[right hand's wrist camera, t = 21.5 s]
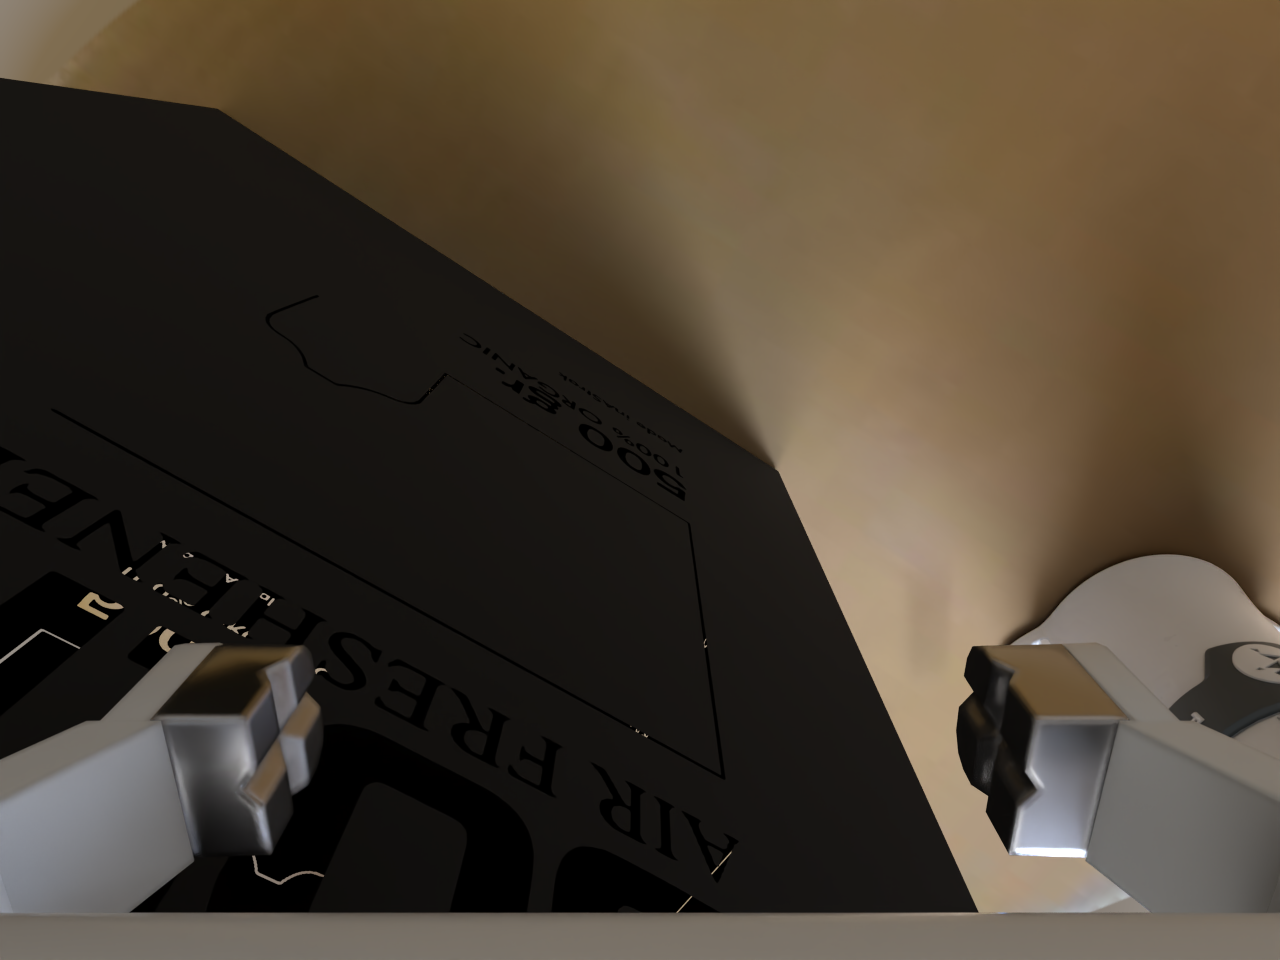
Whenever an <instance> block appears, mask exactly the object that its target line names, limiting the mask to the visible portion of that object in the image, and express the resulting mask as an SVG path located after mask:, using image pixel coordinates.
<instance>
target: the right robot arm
mask: <svg viewBox="0 0 1280 960" xmlns="http://www.w3.org/2000/svg"><path fill="white" fill-rule="evenodd" d="M315 677H316V673H315V668H314V663H313V658H312V653H311V652H310V651H309V650H308V649H307V647H306V646H305V645H284V644H233V643H226V644H221V643H185V644H180V645H175V646H174V647H173V648H172V649H171V650H170V651H169V652H168V653H167V654H166V655H165V656H164V657H163V658H162V659H161V660H160V661H159V662H158V663H157V664H156V665H155V666H154V667H153V668H152V669H151V670H150V671H149V672H148V673H147V674H146V675H145V676H144V677H143V678H142V679H141V680H140V681H139V682H138V683H137V684H136V685H135V686H134V687H133V688H132V689H131V690H130V691H129V692H128V693H127V694H126V695H125V696H124V697H123V698H122V699H121V700H120V701H119V702H118V703H117V704H116V705H115V706H114V707H113V708H112V709H111V710H110V711H109V712H108V713H107V714H106V715H105V716H104V717H103V718H102V719H101V720H100V721H85V722H83V723H81V724H78V725H76V726H74V727H72V728H69V729H67V730H65V731H63V732H61V733H58V734H56V735H54V736H52V737H49V738H47V739H45V740H43V741H41V742H38V743H36V744H34V745H32V746H29V747H27V748H25V749H23V750H21V751H18V752H16V753H14V754H12V755H9V756H7V757H5V758H3V759H1V760H0V960H1280V626H1279V625H1278V624H1277V623H1275V622H1274V621H1272V620H1271V619H1269V618H1267V617H1265V616H1264V615H1263V614H1262V613H1261V612H1260V611H1259V610H1258V609H1257V608H1256V606H1255V605H1254V604H1253V603H1252V602H1251V600H1250V599H1249V598H1248V597H1247V595H1246V594H1245V593H1244V591H1243V590H1242V589H1241V587H1240V586H1239V585H1238V583H1237V582H1236V581H1235V580H1234V579H1233V578H1232V577H1231V576H1230V575H1229V574H1227V573H1226V572H1225V571H1223V570H1222V569H1220V568H1219V567H1217V566H1215V565H1213V564H1211V563H1209V562H1207V561H1204V560H1201V559H1198V558H1194V557H1190V556H1184V555H1174V554H1161V555H1150V556H1144V557H1139V558H1134V559H1131V560H1127V561H1124V562H1121V563H1118V564H1116V565H1114V566H1111V567H1109V568H1107V569H1105V570H1103V571H1101V572H1099V573H1097V574H1095V575H1094V576H1092V577H1091V578H1089V579H1087V580H1086V581H1085V582H1083V583H1082V584H1081V585H1079V586H1078V587H1077V588H1076V589H1074V590H1073V591H1072V592H1071V593H1070V594H1069V595H1068V596H1067V597H1066V598H1065V599H1064V600H1063V601H1062V602H1061V603H1060V604H1059V606H1058V607H1057V608H1056V609H1055V610H1054V611H1053V613H1052V614H1051V615H1050V616H1049V617H1048V618H1047V620H1046V621H1045V622H1044V623H1043V624H1041V625H1040V626H1039V627H1037V628H1036V629H1034V630H1032V631H1030V632H1029V633H1027V634H1025V635H1024V636H1022V637H1021V638H1019V639H1017V640H1016V641H1015V642H1013V643H1012V644H1011V645H997V646H973V647H972V649H971V651H970V653H969V655H968V657H967V662H966V667H965V673H964V677H965V678H966V680H967V682H968V683H969V685H970V686H971V688H972V690H973V691H974V692H973V693H972V694H971V695H970V696H969V697H968V698H967V699H966V700H965V701H964V702H963V703H962V704H961V705H960V706H959V712H958V720H957V728H956V733H957V744H958V753H959V757H960V760H961V763H962V767H963V770H964V772H965V774H966V776H967V777H968V779H969V781H970V783H971V785H972V786H974V787H976V788H977V789H979V790H980V791H982V792H983V793H985V794H986V795H988V802H987V808H986V813H987V815H988V817H989V819H990V820H991V822H992V824H993V826H994V828H995V830H996V831H997V833H998V835H999V837H1000V839H1001V841H1002V842H1003V844H1004V846H1005V848H1006V850H1007V851H1008V853H1009V855H1023V856H1059V857H1086V861H1087V862H1088V863H1089V864H1090V865H1092V866H1093V867H1094V868H1095V869H1097V870H1098V871H1099V872H1100V873H1102V874H1103V875H1104V876H1106V877H1107V878H1108V879H1109V880H1111V881H1112V882H1113V883H1114V884H1116V885H1117V886H1118V887H1119V888H1121V889H1122V890H1123V891H1125V892H1126V893H1127V894H1128V895H1130V896H1131V897H1132V898H1133V899H1135V900H1136V901H1137V902H1138V903H1140V904H1141V905H1142V906H1143V907H1145V908H1146V909H1147V910H1149V911H1150V912H1151V913H129V912H130V911H132V910H133V909H134V908H136V907H137V906H138V905H139V904H141V903H142V902H143V901H144V900H146V899H147V898H148V897H149V896H151V895H152V894H153V893H155V892H156V891H157V890H158V889H160V888H161V887H162V886H163V885H165V884H166V883H167V882H168V881H170V880H171V879H172V878H174V877H175V876H176V875H177V874H179V873H180V872H181V871H182V870H184V869H185V868H186V867H187V866H189V865H190V864H191V863H193V862H194V857H220V856H255V855H271V853H272V852H273V850H274V848H275V846H276V844H277V842H278V841H279V839H280V837H281V835H282V833H283V831H284V830H285V828H286V826H287V824H288V822H289V820H290V819H291V817H292V815H293V813H294V808H293V802H292V795H294V794H295V793H297V792H298V791H300V790H301V789H303V788H305V787H306V786H308V785H309V783H310V781H311V779H312V777H313V775H314V773H315V771H316V769H317V767H318V764H319V759H320V755H321V751H322V746H323V718H322V711H321V706H320V705H319V704H318V703H317V702H316V701H315V700H314V699H313V698H312V697H311V696H310V695H309V694H308V693H307V692H306V691H307V690H308V688H309V686H310V685H311V683H312V682H313V680H314V678H315Z"/></svg>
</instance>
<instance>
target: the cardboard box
mask: <svg viewBox="0 0 1280 960" xmlns="http://www.w3.org/2000/svg"><path fill="white" fill-rule="evenodd" d="M444 373H447V374H448V375H450V376H451V377H453V378H454V379H453V378H451V377H450V376H446V377H445V378H444V379H443V380H442V381H441V382H440V383H439V384H438V386H437V387H436V388H435V389H434V390H433V391H432V392H431V393H430V394H429V395H428V396H427V397H426V395H424V394H425V393H426V392H427V391H428V390H429V389H430V388H431V387H432V386H433V385H434V384H435V383H436V382H437V381H438V380H439V379H440V377H441V376H442V375H443V374H444ZM459 382H461V383H463V384H464V385H466V386H468V387H469V388H471V389H473V390H474V391H476V392H477V393H479V394H481V395H482V396H484V397H482V396H481V395H479V394H477V393H476V392H474V391H472V390H471V389H469V388H468V387H466V386H464V385H463V384H461V383H459ZM388 396H389V397H392V398H394V399H397V400H400V401H404V402H402V403H401V402H398V401H395V400H393V399H391V398H389V397H388ZM494 403H495V404H497V405H499V406H500V407H502V408H503V409H505V410H507V411H508V412H510V413H512V414H513V415H515V416H516V417H518V418H520V419H521V420H523V421H525V422H526V423H527V424H526V423H524V422H523V421H521V420H520V419H518V418H516V417H515V416H513V415H511V414H510V413H508V412H507V411H505V410H503V409H502V408H500V407H498V406H497V405H495V404H494ZM539 431H541V432H542V433H544V434H546V435H547V436H549V437H551V438H552V439H554V440H555V441H557V442H559V443H560V444H562V445H564V446H565V447H567V448H568V449H570V450H568V449H567V448H565V447H563V446H562V445H560V444H559V443H557V442H555V441H554V440H552V439H550V438H549V437H547V436H546V435H544V434H542V433H541V432H539ZM163 540H165V542H166V543H165V544H166V545H167V546H166V547H164V548H162V542H161V541H163ZM160 542H161V543H160ZM186 553H190V554H192V555H193V557H189V554H186ZM183 555H185V556H186V557H188V558H184V557H183ZM128 567H131V568H132V570H130V571H129V572H128V573H127V574H125V575H124V574H122V572H123V571H124V570H126V569H127V568H128ZM226 574H229V577H231V578H233V579H238V581H233V582H229V583H227V582H226ZM136 576H137V577H138V578H140V579H138V580H137V581H135V580H133V578H134V577H136ZM228 580H231V579H228ZM156 584H163V587H158V588H157V589H156V590H155V591H154V590H153V587H154V586H155V585H156ZM165 591H166V592H167V593H169V594H168V595H167V596H164V595H162V594H163V593H165ZM90 592H93V593H95V594H98V595H99V598H100V599H101V600H102V601H104V602H106V603H118V604H120V605H122V606H123V607H124V608H122V609H109V608H105V607H102V606H101V605H99V604H98V603H97V602H96V601H95V600H92V601H91V602H90V604H89V606H91V607H93V608H95V609H97V610H99V611H101V612H103V613H105V614H107V615H108V616H109V617H108V618H107V619H106V620H104V619H102V618H100V617H98V616H96V615H94V614H92V613H90V612H88V611H86V610H84V609H82V608H80V607H78V606H77V605H78V604H79V603H80V602H81V601H82V599H83V598H84V597H85V596H86V595H88V594H89V593H90ZM262 593H265V594H267V595H269V596H270V598H269V599H268V600H267V601H266V600H264V599H261V598H260V595H261V594H262ZM169 597H172V598H175V599H176V600H177V601H178V602H176V601H174V600H173V599H170V598H169ZM262 597H263V598H266V595H262ZM272 598H275V600H274V601H273V602H272V603H271V605H270V606H268V605H267V604H268V603H269V602H270V600H271V599H272ZM179 599H180V600H182V605H181V604H180V603H179ZM183 601H184V602H186V603H187V604H190V605H194V606H187V605H185V604H184V602H183ZM208 610H209V613H208V614H206V615H205V616H203V615H201V613H202V612H204V611H208ZM235 623H236V624H235ZM223 624H224V625H223ZM234 624H235V625H234ZM229 625H234V626H233V627H240V626H244V627H246V628H245V629H238V630H237V631H238V633H239V634H237V633H235V632H234V631H233V630H230V629H228V628H227V627H228V626H229ZM158 626H162V627H161V628H160V629H159V630H158V631H157V632H155V633H153V634H151V635H149V634H150V633H151V632H152V631H153V630H154V629H155V628H156V627H158ZM40 629H44V630H46V631H48V632H50V633H52V634H54V635H56V636H58V637H60V638H62V639H64V640H66V641H68V642H70V643H72V644H74V645H76V646H78V647H80V649H78V648H76V647H74V646H72V645H70V644H68V643H66V642H64V641H62V640H60V639H58V638H56V637H54V636H52V635H50V634H48V633H46V632H41V633H39V634H38V635H37V636H36V637H34V638H33V639H32V640H30V641H29V642H28V643H26V644H25V645H24V646H23V647H21V648H20V649H19V650H17V651H16V652H15V653H14V654H12V655H11V656H10V657H8V658H7V659H6V660H4V661H3V662H2V663H1V664H0V760H1V759H3V758H5V757H7V756H9V755H12V754H14V753H16V752H18V751H21V750H23V749H25V748H27V747H29V746H32V745H34V744H36V743H38V742H41V741H43V740H45V739H47V738H49V737H52V736H54V735H56V734H58V733H61V732H63V731H65V730H67V729H69V728H72V727H74V726H76V725H78V724H81V723H83V722H85V721H100V720H101V719H102V718H103V717H104V716H105V715H106V714H107V713H108V712H109V711H110V710H111V709H112V708H113V707H114V706H115V705H116V704H117V703H118V702H119V701H120V700H121V699H122V698H123V697H124V696H125V695H126V694H127V693H128V692H129V691H130V690H131V689H132V688H133V687H134V686H135V685H136V684H137V683H138V682H139V681H140V680H141V679H142V678H143V677H144V676H145V675H146V674H147V673H148V672H149V671H150V670H151V669H152V668H153V667H154V666H155V665H156V664H157V663H158V662H159V661H160V660H161V659H162V658H163V657H164V656H165V655H166V654H167V653H168V652H166V651H165V650H163V649H162V648H161V646H160V644H159V637H160V635H161V634H162V633H163V631H164V630H166V629H169V630H171V631H173V632H175V633H174V634H173V635H172V636H171V637H170V639H169V641H168V646H169V647H170V648H171V649H172V648H173V647H174V646H175V645H180V644H185V643H190V642H191V641H193V642H194V643H221V644H226V643H233V644H284V645H305V646H306V647H307V649H308V650H309V651H310V652H311V653H312V658H313V663H314V668H315V669H317V668H325V669H326V671H327V672H326V671H319V672H318V673H317V674H316V677H315V678H314V680H313V682H312V683H311V685H310V686H309V688H308V690H307V691H306V692H307V693H308V694H309V695H310V696H311V697H312V698H313V699H314V700H315V701H316V702H317V703H318V704H319V705H320V706H321V711H322V718H323V746H322V751H321V755H320V759H319V764H318V767H317V769H316V771H315V773H314V775H313V777H312V779H311V781H310V783H309V785H308V786H306V787H305V788H303V789H301V790H300V791H298V792H297V793H295V794H294V795H292V802H293V808H294V813H293V815H292V817H291V819H290V820H289V822H288V824H287V826H286V828H285V830H284V831H283V833H282V835H281V837H280V839H279V841H278V842H277V844H276V846H275V848H274V850H273V852H272V853H271V855H255V857H256V860H257V867H258V872H259V873H261V874H263V875H266V876H268V877H270V878H272V879H274V880H276V881H280V882H281V881H282V880H283V879H285V878H286V877H288V876H290V875H292V874H295V873H298V872H301V871H313V872H318V873H320V874H323V875H324V877H320V876H318V875H314V874H302V875H297V876H295V877H293V878H291V879H289V880H287V881H286V882H284V883H283V884H281V885H278V884H275V883H273V882H271V881H269V880H267V879H264V878H262V877H260V876H258V875H256V873H255V868H254V861H253V857H252V856H220V857H194V862H193V863H191V864H190V865H189V866H187V867H186V868H185V869H184V870H182V871H181V872H180V873H179V874H177V875H176V876H175V877H174V878H172V879H171V880H170V881H168V882H167V883H166V884H165V885H163V886H162V887H161V888H160V889H158V890H157V891H156V892H155V893H153V894H152V895H151V896H149V897H148V898H147V899H146V900H144V901H143V902H142V903H141V904H139V905H138V906H137V907H136V908H134V909H133V910H132V911H130V912H129V913H676V912H677V911H678V910H679V909H680V908H681V907H682V905H683V904H684V903H685V902H686V901H687V900H688V899H689V898H690V897H691V896H692V898H691V899H690V900H689V901H688V902H687V903H686V904H685V905H684V907H683V908H682V909H681V910H680V911H679V912H678V913H979V912H978V910H977V908H976V906H975V903H974V901H973V899H972V897H971V895H970V892H969V890H968V888H967V886H966V884H965V881H964V879H963V877H962V875H961V873H960V870H959V868H958V866H957V864H956V862H955V859H954V857H953V855H952V853H951V851H950V848H949V846H948V844H947V842H946V840H945V837H944V835H943V833H942V831H941V829H940V826H939V824H938V822H937V820H936V818H935V815H934V813H933V811H932V809H931V807H930V804H929V802H928V800H927V798H926V796H925V793H924V791H923V789H922V787H921V785H920V782H919V780H918V778H917V776H916V774H915V771H914V769H913V767H912V765H911V763H910V760H909V758H908V756H907V754H906V752H905V749H904V747H903V745H902V743H901V741H900V738H899V736H898V734H897V732H896V730H895V727H894V725H893V723H892V721H891V719H890V716H889V714H888V712H887V710H886V708H885V705H884V703H883V701H882V699H881V697H880V694H879V692H878V690H877V688H876V686H875V683H874V681H873V679H872V677H871V675H870V672H869V670H868V668H867V666H866V664H865V661H864V659H863V657H862V655H861V653H860V650H859V648H858V646H857V644H856V642H855V639H854V637H853V635H852V633H851V630H850V628H849V626H848V624H847V622H846V619H845V617H844V615H843V613H842V611H841V608H840V606H839V604H838V602H837V600H836V597H835V595H834V593H833V591H832V589H831V586H830V584H829V582H828V580H827V578H826V575H825V573H824V571H823V569H822V567H821V564H820V562H819V560H818V558H817V556H816V553H815V551H814V549H813V547H812V545H811V542H810V540H809V538H808V536H807V534H806V531H805V529H804V527H803V525H802V523H801V520H800V518H799V516H798V514H797V512H796V509H795V507H794V505H793V503H792V501H791V498H790V496H789V494H788V492H787V490H786V487H785V485H784V483H783V481H782V479H781V476H780V474H779V472H778V471H777V470H775V469H774V468H772V467H771V466H769V465H768V464H766V463H765V462H763V461H762V460H760V459H758V458H757V457H755V456H754V455H752V454H751V453H749V452H748V451H746V450H745V449H743V448H741V447H740V446H738V445H737V444H735V443H734V442H732V441H731V440H729V439H727V438H726V437H724V436H723V435H721V434H720V433H718V432H717V431H715V430H714V429H712V428H710V427H709V426H707V425H706V424H704V423H703V422H701V421H700V420H698V419H697V418H695V417H693V416H692V415H690V414H689V413H687V412H686V411H684V410H683V409H681V408H680V407H678V406H676V405H675V404H673V403H672V402H670V401H669V400H667V399H666V398H664V397H663V396H661V395H659V394H658V393H656V392H655V391H653V390H652V389H650V388H649V387H647V386H645V385H644V384H642V383H641V382H639V381H638V380H636V379H635V378H633V377H632V376H630V375H628V374H627V373H625V372H624V371H622V370H621V369H619V368H618V367H616V366H615V365H613V364H611V363H610V362H608V361H607V360H605V359H604V358H602V357H601V356H599V355H598V354H596V353H594V352H593V351H591V350H590V349H588V348H587V347H585V346H584V345H582V344H580V343H579V342H577V341H576V340H574V339H573V338H571V337H570V336H568V335H567V334H565V333H563V332H562V331H560V330H559V329H557V328H556V327H554V326H553V325H551V324H550V323H548V322H546V321H545V320H543V319H542V318H540V317H539V316H537V315H536V314H534V313H533V312H531V311H529V310H528V309H526V308H525V307H523V306H522V305H520V304H519V303H517V302H516V301H514V300H512V299H511V298H509V297H508V296H506V295H505V294H503V293H502V292H500V291H498V290H497V289H495V288H494V287H492V286H491V285H489V284H488V283H486V282H485V281H483V280H481V279H480V278H478V277H477V276H475V275H474V274H472V273H471V272H469V271H468V270H466V269H464V268H463V267H461V266H460V265H458V264H457V263H455V262H454V261H452V260H451V259H449V258H447V257H446V256H444V255H443V254H441V253H440V252H438V251H437V250H435V249H434V248H432V247H430V246H429V245H427V244H426V243H424V242H423V241H421V240H420V239H418V238H416V237H415V236H413V235H412V234H410V233H409V232H407V231H406V230H404V229H403V228H401V227H399V226H398V225H396V224H395V223H393V222H392V221H390V220H389V219H387V218H386V217H384V216H382V215H381V214H379V213H378V212H376V211H375V210H373V209H372V208H370V207H369V206H367V205H365V204H364V203H362V202H361V201H359V200H358V199H356V198H355V197H353V196H352V195H350V194H348V193H347V192H345V191H344V190H342V189H341V188H339V187H338V186H336V185H334V184H333V183H331V182H330V181H328V180H327V179H325V178H324V177H322V176H321V175H319V174H317V173H316V172H314V171H313V170H311V169H310V168H308V167H307V166H305V165H304V164H302V163H300V162H299V161H297V160H296V159H294V158H293V157H291V156H290V155H288V154H287V153H285V152H283V151H282V150H280V149H279V148H277V147H276V146H274V145H273V144H271V143H270V142H268V141H266V140H265V139H263V138H262V137H260V136H259V135H257V134H256V133H254V132H252V131H251V130H249V129H248V128H246V127H245V126H243V125H242V124H240V123H239V122H237V121H235V120H234V119H232V118H231V117H229V116H228V115H226V114H225V113H223V112H222V111H220V110H218V109H215V108H208V107H201V106H194V105H187V104H180V103H173V102H166V101H159V100H152V99H145V98H138V97H131V96H124V95H117V94H110V93H103V92H96V91H89V90H81V89H74V88H67V87H60V86H53V85H46V84H39V83H32V82H25V81H18V80H11V79H4V78H0V659H2V658H3V657H4V656H5V655H7V654H8V653H9V652H11V651H12V650H13V649H15V648H16V647H17V646H18V645H20V644H21V643H22V642H24V641H25V640H26V639H28V638H29V637H30V636H32V635H33V634H34V633H36V632H37V631H38V630H40ZM247 631H249V632H248V635H247V636H246V637H243V636H242V634H243V633H244V632H247ZM705 639H706V641H705ZM704 641H705V644H704ZM704 645H705V646H706V645H707V647H706V648H704ZM636 729H637V732H638V731H639V733H637V732H636ZM644 733H645V734H646V736H647V735H648V737H647V738H646V737H645V736H644ZM731 851H732V853H731V854H730V855H729V856H728V857H727V859H726V860H725V861H724V862H723V863H722V864H721V865H720V866H719V864H720V863H721V862H722V861H723V860H724V859H725V857H726V856H727V855H728V854H729V853H730V852H731ZM717 866H718V869H717V870H716V871H715V872H714V873H713V874H711V873H712V872H713V871H714V870H715V869H716V868H717Z"/></svg>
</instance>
